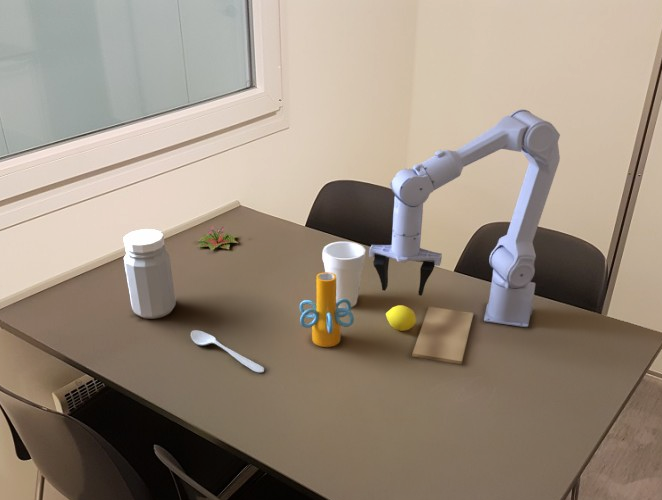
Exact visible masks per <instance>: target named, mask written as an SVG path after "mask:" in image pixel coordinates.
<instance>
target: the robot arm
mask: <svg viewBox="0 0 662 500" xmlns="http://www.w3.org/2000/svg"><path fill="white" fill-rule="evenodd" d="M560 137H561V134H560V133H559V131H558V130H557V128H556V127H555V126H554V124H553V123H551V121H548V120H545V119H543V118H542V117H541V118H540V117H539V116H537V115H535V114H533V113H532V112H531V111H530V110H527V109H517V110H516V111H515V110H514V111H513V112H512V113H511V114H510V115H505V116H503V117H502V118H501V119H500V120H499V121H498V122H497V123H496V124H495V125H494V126H493V127H491V128H489V129H488V130H486V131H484V132H483V133H481V134H479V135H478V136H477V137H475V138H473V139H472V140H471V141H469V142H468V143H466V144H464V145H462V146H461V147H459V148H458V149H457V150H450V149H444V150H442V149H438V150H437V151H435V152H434V155H433V156H432V157H430V158H428V159H426V160H425V161H423V162H421V163H419V164H418V163H416V164H414V165H413V166H412V168H403V169H401V170H399V171H398V172H396V174H395V175H394V176H393V178H392V181H391V182H389V183H390V189H391V191H392V193H393V194H394V203H393V214H392V232H391V233H392V234H391V244H371V246H370V247H369V254H368V257H369V258H373V261H372V264H373V267H374V268H375V271H376V272H377V274H378V277H379V280H380V283H381V285H380V286H381V290H382V291H383V292H386V290H387V288H388V285H389V284H388V283H389V263H390V259H394V260H396V262H398V263H407V262H418V263H422V264H421V266H420V268H419V271H420V272H419V287H418V293H417V295H418V296H421V297H422V296H423V294H424V291H425V286H426V283H427V282H428V279H429V278H430V276H431V274H432V273H433V271H434V268H435V266H437V267H440V266H441V263H442V257H443V256H442V255H443V253H441V252H436V251H435V252H434V251H432V250H428V249H425V248H422V247H421V238H422V226H423V214H424V203H426V201H427V200H428V198H429V197H430V195H431V193H434V192H435V191H436V190H437V189H439V188H441V187H443V186H445V185H446V184H448V183H450V182H453V181H454V180H456V179H457V178H459V177H460V176H461V175H462V172H463V169H464V167H467V166H469V165H471V164H473V163H475V162H477V161H479V160H482V159H484V158H485V157H488V156H490V155H492V154H494V153H496V152H498V151H500V150H508V151H512V152H518V153H521V152H522V153H523V155H524V157H525V158H526V159H527V161H528V165H527V169H526V172H525V175H524V178H523V181H522V184H521V188H520V191H519V194H518V196H517V201H516V204H515V207H514V211H513V213H512V216H511V220H510V223H509V227H508V229H507V233H506V234H505V235H504V236H501V237H500V238H499V239H498V240H497V244H496V245H495V247H494V249H492V251H491V252H490V255H489V258H488V259H489V260H488V261H489V265H490V267H491V268H492V277H491V285H490V291H489V297H488V298H489V299H488V303H487V304H486V306H485V307H486V308H485V313H484V317H483V321H484V322H487V323H493V324H501V325H507V326H514V327H520V328H529V325H530V319H531V316H532V315H533V310H534V307H533V302H534V296H535V290H536V282H532V280H533V278H534V276H535V273H536V268H535V261H536V258H537V255H536V251H535V247H534V243H533V242H534V240H535V236H536V233H537V230H538V227H539V223H540V222H541V218H542V216H543V212H544V209H545V206H546V203H547V201H548V200H547V199H548V196H549V194H550V190H551V188H552V185H553V182H554V179H555V176H556V174H557V170H558V167H559V163H560V159H561V155H560V148H559V140H560Z"/></svg>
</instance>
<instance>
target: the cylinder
mask: <svg viewBox="0 0 662 500" xmlns="http://www.w3.org/2000/svg"><path fill="white" fill-rule="evenodd" d="M315 277H316V278H315V279H316V282H315V283H316V286H315V287H316V289H315V291H316V302H314V301H313V300H310V299H304V300H302V301H301V302H300V304H299V311H300V313H301V315H300V318H299V322H300V325H301V327H303V328H305V329H309V328H311V340H312V342H313V344H314V345H316V346H318V347H321V348H331V347H335V346H337V345H338V344H339V343H340V342H341V336H342V335H341V330H342V327H344V328H347V327H350V326H352V325H353V324H354V321H355V317H354V314H353V312H352V311H351V309H352V307H351V303H350V301H349V300H348V299H341V300H339V301H338V302H337V303H336V275H335V274H334V273H330V272H325V271H322V272H320V273H318V274H316V276H315ZM343 302H346V303H347V308H338V306H339V305H340V304H341V303H343ZM305 305H310V306H312V308H307V309H306V310H305V309H304V306H305ZM310 313H313V314H310ZM347 315H348V316H349V321H348V322H344V321H342V320H341V319H340V318H344V317H346V316H347ZM305 318H307V319H313V320H312V321H311V322H309V323H306V322H305Z"/></svg>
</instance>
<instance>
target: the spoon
mask: <svg viewBox="0 0 662 500" xmlns="http://www.w3.org/2000/svg"><path fill="white" fill-rule="evenodd" d="M190 338H191V340H192V341H193V343H194V344H196V345H199V346H207V345H210V344H213V345H216V346H218V347H219V348H221V349H222V350H224V351H225V352H227V354H229V355H230V356H231V357H232V358H234V359H235V360H236V361H237V362H238V363H241V364H242V365H243V366H245V367H246V368H248V369H249V370H251V371H252V372H254V373H257V374H258V373H259V374H262V373H264V372H265V368H264V367H263V366H262V365H261V364H258V363H256V362H254V361H253V360H250V359H249V358H247V357H245V356H243V355H241V354H240V353H238V352H236V351H234V350H232V349H230V348H229V347H227V346H226V345H223V344H221V343H220V342H219V341H218V340H217V339H216V337H215V336H214V335H212V334H209V333H207V332H205V331H202V330H198V329H196V330H192V331H191V332H190Z"/></svg>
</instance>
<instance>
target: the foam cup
mask: <svg viewBox="0 0 662 500" xmlns="http://www.w3.org/2000/svg"><path fill="white" fill-rule="evenodd" d="M366 251H367V250H366V248H365V247H364V246H363V245H361V244H360V243H357V242H353V241H334V242H331V243H328V244H327V245H325V246H323V249H322V262H323V265H324V266H323V267H324V272H330V273H334V274H335V275H336V303H337V302H338V301H339V300H341V299H348V300H349V301H350V303H351V308H353V307H355V306H356V305H357V303H358V299H359V292H360V286H361V281H362V276H363V269H364V264H365V262H366V253H367V252H366ZM339 308H346V309H347V303H346V302H343V303H341V304H340V305H339V306H338V308H337V309H339Z"/></svg>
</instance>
